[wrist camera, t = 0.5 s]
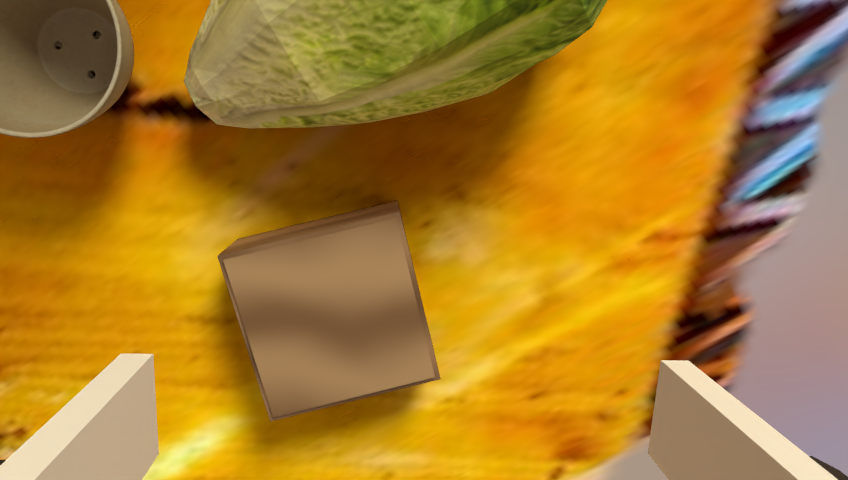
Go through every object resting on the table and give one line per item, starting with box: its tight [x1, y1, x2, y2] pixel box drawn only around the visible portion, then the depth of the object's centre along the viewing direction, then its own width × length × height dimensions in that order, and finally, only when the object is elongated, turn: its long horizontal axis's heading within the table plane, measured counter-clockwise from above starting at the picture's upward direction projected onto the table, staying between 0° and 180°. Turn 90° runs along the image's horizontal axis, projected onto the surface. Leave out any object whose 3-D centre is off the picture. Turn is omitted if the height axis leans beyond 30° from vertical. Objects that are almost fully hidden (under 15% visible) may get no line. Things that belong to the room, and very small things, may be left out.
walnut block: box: [218, 201, 440, 421], centre depth 37 cm, size 11×11×5 cm
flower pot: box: [0, 0, 134, 138], centre depth 32 cm, size 10×10×7 cm
